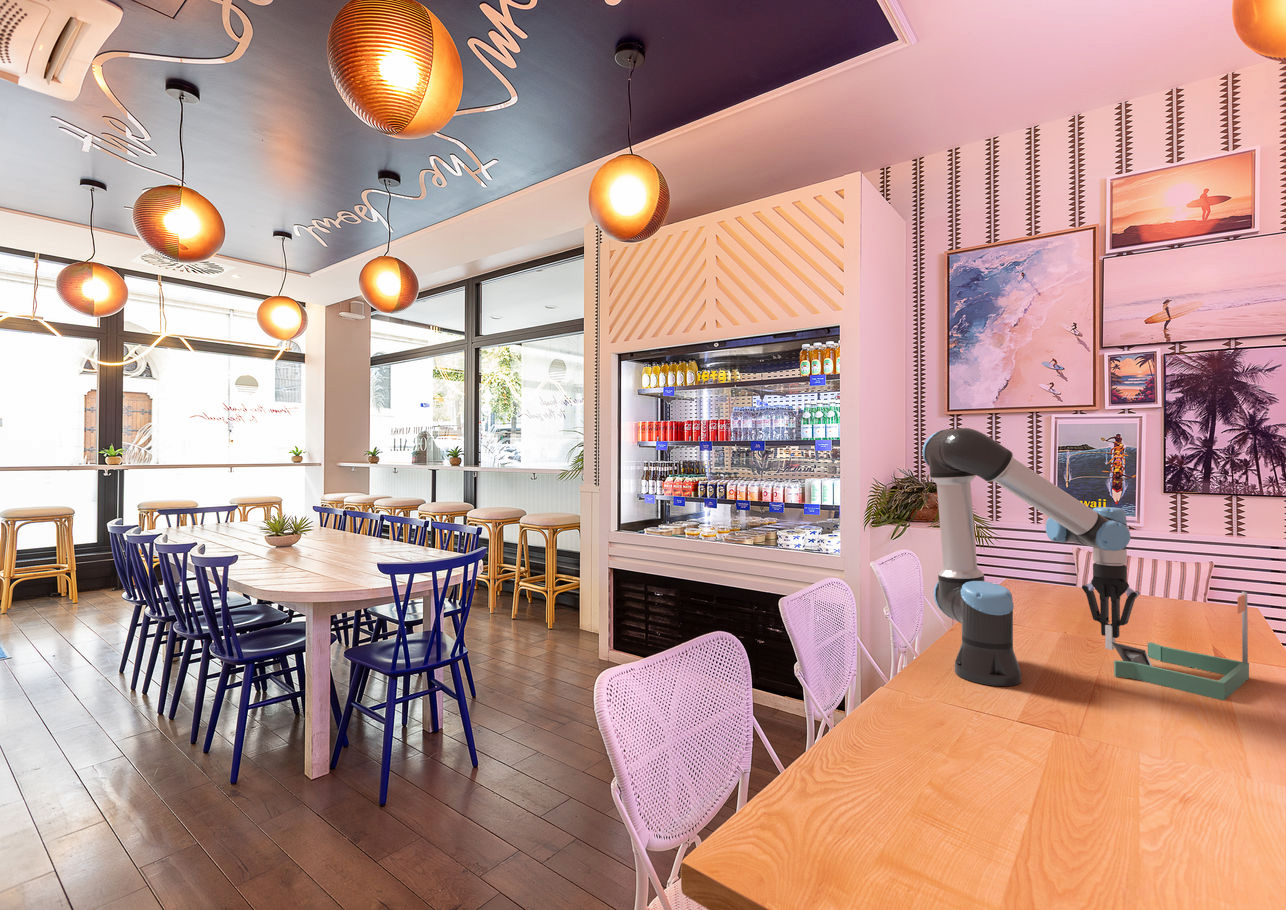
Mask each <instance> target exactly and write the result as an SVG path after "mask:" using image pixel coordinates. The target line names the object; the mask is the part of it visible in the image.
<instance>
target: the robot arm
mask: <svg viewBox="0 0 1286 910" xmlns="http://www.w3.org/2000/svg"><path fill="white" fill-rule="evenodd" d="M922 446H923V447H922V452H921V454H922V458H923V461H924V462H925V463H926V465H927V466H928V467H929V476H930V477H929V478H930V480H932V481H933V482H934V483H936V493H937V505H938V516H939V529H940V530H939V531H940V539H941V540H940V542H941V543H940V544H941V553H942V556H941V557H942V568H941V569H940V570H939V571H938V572H937V576H938V577H937V578H938V581H937V583H935V586H934V589H933V598H934V602H935V604H936V606H937V608H939V610H940V611H942V613H943V614H945V616H947V617H949V618H950V619H953V620H955V621H957V622H958V623H960V624H961V645H960V648H959V650H958V652H957V655H956V658H955V662H954V673H955V675H957V676H958V677H960V678H962V679H964V680H967V681H970V682H974V683H977V684H981V685H986V686H994V687H995V686H996V687H1011V686H1016V685H1019V684H1020V683H1022V670H1021V668H1020V664H1019V663H1018V659H1017V656H1016V654H1015V651H1014V606H1015V605H1014V601H1013V595H1012V592H1011V591H1010V590H1009V589H1008V588H1007V587H1005V586H1003V585H1000V584H998V583H993V582H991V581H985V572H983V571H982V570H981V569H979V567H978V562H977V561H978V559H977V550H976V549H977V546H976V535H975V521H974V513H973V512H974V509H973V498H972V486H971V485H972V481H973V480H974V479H975V478H976V477H979V478H981V479H983V480H984V481H985V482H989V483H990V482H995V483H996V484H997V485H999V486H1001V488H1004V490H1006V491H1008V492H1010V493H1011V494H1013V495H1014V496H1015V497H1017V498H1019V499H1021V500H1022V501H1024V502H1025V503H1027V505H1028V504H1029V506H1032V507H1033V508H1034V509H1036V510H1037V511H1039V512H1040V513H1042V514H1043V515H1045V516H1047V517H1048V518H1047V520H1046V523H1045V533H1046V535H1047V537H1048V539H1050V541H1052V542H1055V543H1062V544H1064V543H1074V544H1078V545H1082V546H1087V547H1092V561H1094V562H1093V563H1092V578H1091V580H1090V583H1087V584H1083V585H1082V586H1081V589H1082V591H1083V592H1084V593H1085V595H1086V599H1087V603H1088V606H1089V609H1090V613H1091V617H1092V620H1093V621H1096V622H1098V623H1100V630H1101V631H1100V633H1101V636H1104V638H1105V641H1104V643H1105V645H1104V647H1105V648H1104V649H1106V650H1110V651H1112V650H1116V649H1115V647H1114V645H1113V644H1112V642H1115V643H1116V639H1118V638H1119V637H1120V635H1121V634H1120V633H1121V632H1120V627H1121V626H1125V625H1127V624H1128V623H1129V620H1130V617H1131V614H1132V610H1133V607H1134V605H1135V601H1136V599H1137V598H1138V597H1139V595H1140V592H1139V591H1138V590H1137V591H1135V590H1134V589H1133V588H1131V587H1130V584H1129V583H1128V572H1127V570H1128V567H1127V565H1126V564H1127V560H1128V559H1127V555H1128V553H1127V546H1128V545H1129V543H1130V540H1131V532H1130V529H1129V527H1127V526H1128V523H1127V514H1126V511H1125V510H1124V509H1123V508H1121V507H1110V506H1105V507H1104V506H1100V507H1099V506H1098V507H1094V508H1090V507H1089V506H1088V505H1086V504H1085V503H1083V502H1081V501H1080V500H1078V499H1077V498H1075V497H1074V496H1072V495H1071V494H1070V493H1067V492H1066V491H1065V490H1063V489H1062V488H1060V487H1059V486H1057V485H1055V484H1054V483H1053V482H1051V481H1050V480H1048V479H1046V478H1045V477H1043V476H1042V475H1041V474H1039V473H1037V472H1036V471H1034V470H1032V469H1031V468H1030V467H1028V466H1026V465H1025V464H1023V463H1022V462H1020V461H1019V460H1017V459H1016V458H1014V453H1013V452H1012V451H1011V450H1009V449H1008V448H1006V447H1005V446H1003V445H1002V444H1000V443H999V442H997V441H996V440H995V439H992V438H991V437H989V436H988V435H986V434H985V433H983V432H981V431H978V430H977V429H973V428H968V427H960V428H947V429H942V430H939V431H936V432H934V433H932V434H931V435H930V436H929V437H928V438H927V439H926V440H925V441H924V444H923V445H922ZM1094 590H1096V592H1097V593H1098V594H1099V600H1100V601H1099V605H1100V606H1099V605H1098V601H1097V598H1096V594H1095V591H1094ZM1125 593H1126V599H1125V602H1124V606H1123V609H1122V613H1121V603H1120V602H1121V597H1122V596H1123V595H1124V594H1125ZM1109 599H1110V603H1111V604H1109ZM1109 605H1111V612H1109V611H1110V610H1109V609H1110V608H1109ZM1109 613H1111V623H1110V620H1109V619H1110V617H1109Z"/></svg>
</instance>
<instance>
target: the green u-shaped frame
mask: <svg viewBox="0 0 1286 910" xmlns="http://www.w3.org/2000/svg"><path fill="white" fill-rule="evenodd" d="M1237 614H1238V615H1239V614H1241V637H1242V638H1241V646H1242V647H1241V648H1242V649H1241V650H1242V651H1241V654H1242V655H1241V658H1242V660H1241V661H1239V660H1235V659H1229V658H1226V657H1225V658H1224V657H1221V656H1220V657H1219V656H1216V655H1215V656H1213V655H1209V654H1204V653H1199V652H1193V651H1189V650H1185V649H1179V648H1173V647H1168V646H1164V645H1161V644H1159V643H1154V642H1147V655H1148V656H1149V657H1148V658H1150V657H1151V658H1150V659H1153V658H1154V659H1153V660H1156V659H1157V660H1156V661H1158V660H1160V661H1159V662H1162V661H1163V662H1162V663H1166V662H1168V663H1167V664H1171V663H1173V664H1172V665H1175V664H1177V666H1180V665H1182V666H1181V667H1185V666H1187V667H1186V668H1190V667H1192V668H1191V669H1194V668H1197V669H1196V670H1199V669H1202V670H1201V671H1204V670H1206V671H1205V672H1208V671H1210V672H1209V673H1213V672H1215V674H1218V673H1220V674H1219V675H1223V674H1224V675H1223V677H1221V678H1220V679H1219V680H1218V679H1212V678H1208V677H1203V676H1198V675H1194V674H1189V673H1185V672H1180V671H1176V670H1171V669H1167V668H1162V667H1157V666H1154V665H1152V666H1149V665H1144V664H1140V663H1134V662H1127V661H1123V660H1115V659H1114V660H1113V664H1114V665H1113V671H1114V672H1113V675H1114V677H1115V678H1119V677H1124V678H1123V679H1128V678H1132V679H1131V680H1135V679H1137V680H1136V681H1139V680H1142V681H1141V682H1144V681H1145V683H1148V682H1150V683H1149V684H1152V683H1154V684H1153V685H1156V684H1158V685H1157V686H1161V685H1162V686H1161V687H1165V686H1166V688H1169V687H1170V689H1173V688H1174V690H1177V689H1178V690H1179V691H1181V692H1186V691H1187V692H1186V693H1191V694H1194V693H1195V695H1199V696H1202V697H1207V698H1211V699H1216V700H1220V701H1226V699H1228V698H1229V697H1230V696H1231V695H1232V694H1234V692H1236V691H1237V690H1238V689H1239V688H1241V687H1242V686H1243V685H1244V684H1245V683H1246V682H1247V681H1248V680H1250V663H1249V655H1248V654H1249V652H1248V651H1249V648H1248V647H1249V646H1248V645H1249V643H1248V642H1249V641H1248V639H1249V638H1248V635H1249V633H1248V632H1249V631H1248V627H1249V626H1248V623H1249V622H1248V619H1249V618H1248V616H1249V615H1248V592H1247V591H1241V595H1239V596H1238V597H1237ZM1246 680H1247V681H1246ZM1245 681H1246V682H1245ZM1244 682H1245V683H1244ZM1243 683H1244V684H1243ZM1242 684H1243V685H1242ZM1235 690H1236V691H1235Z"/></svg>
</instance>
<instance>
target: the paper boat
mask: <svg viewBox="0 0 1286 910" xmlns="http://www.w3.org/2000/svg"><path fill="white" fill-rule="evenodd" d="M1112 644H1113V645H1114V647H1115V649H1114V650H1116V652H1117V654H1118V655H1119V656H1120V658H1121V661H1127V662H1134V663H1140V664H1144V665H1149V666H1153V665H1152V663H1151V660H1150V657H1148V652H1146V649H1142V648H1138V647H1134V646H1130V645H1126V644H1122V643H1118V642H1116V641H1115V642H1112Z"/></svg>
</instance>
